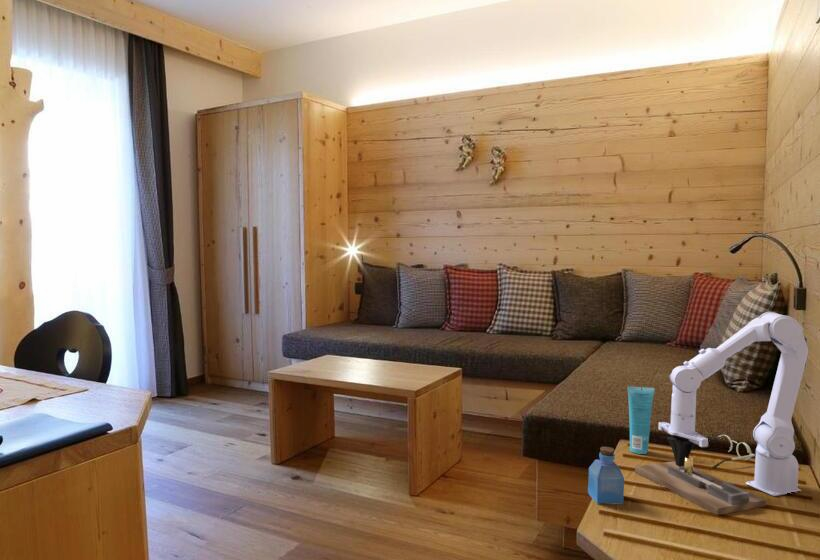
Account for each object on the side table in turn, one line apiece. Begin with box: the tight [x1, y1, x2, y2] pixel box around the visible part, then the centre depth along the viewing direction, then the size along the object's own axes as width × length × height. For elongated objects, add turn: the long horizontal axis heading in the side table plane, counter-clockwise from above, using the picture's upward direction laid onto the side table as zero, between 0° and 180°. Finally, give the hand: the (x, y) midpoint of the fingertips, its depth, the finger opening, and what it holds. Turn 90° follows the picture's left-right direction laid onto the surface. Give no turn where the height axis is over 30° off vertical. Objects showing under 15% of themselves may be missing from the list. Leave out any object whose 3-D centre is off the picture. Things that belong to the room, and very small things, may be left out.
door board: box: [634, 460, 767, 516], centre depth 145 cm, size 15×26×4 cm, turn 20°
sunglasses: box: [711, 434, 756, 469], centre depth 168 cm, size 17×15×5 cm
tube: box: [627, 385, 656, 455], centre depth 169 cm, size 7×5×19 cm, turn 85°
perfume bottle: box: [587, 446, 625, 505], centre depth 137 cm, size 6×6×12 cm
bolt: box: [679, 455, 725, 490], centre depth 143 cm, size 2×12×5 cm, turn 20°
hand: (680, 465), depth 149 cm, fingers closed
